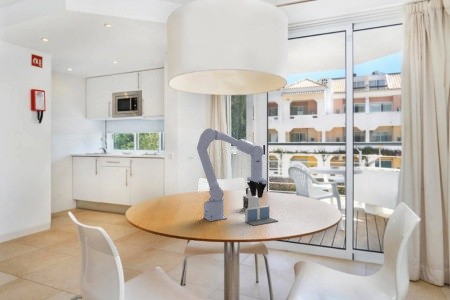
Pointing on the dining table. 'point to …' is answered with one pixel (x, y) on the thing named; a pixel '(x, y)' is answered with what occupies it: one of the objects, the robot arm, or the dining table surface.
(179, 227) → the dining table surface
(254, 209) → the tile near
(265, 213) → the tile far
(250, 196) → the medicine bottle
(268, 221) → the mat
